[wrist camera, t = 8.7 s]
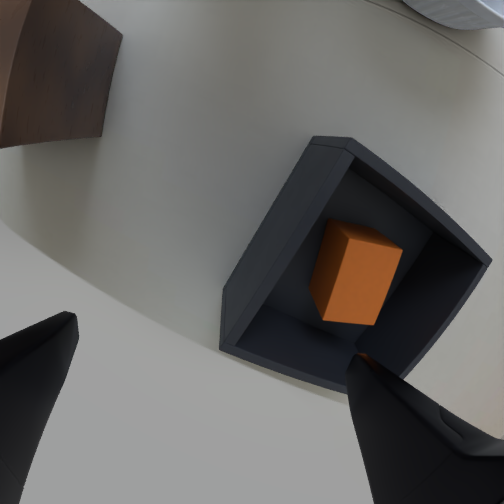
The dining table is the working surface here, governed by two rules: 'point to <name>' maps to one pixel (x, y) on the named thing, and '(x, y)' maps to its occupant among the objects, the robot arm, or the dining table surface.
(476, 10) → the ramekin
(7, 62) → the stand
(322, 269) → the orange block
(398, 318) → the open box
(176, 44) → the dining table surface
